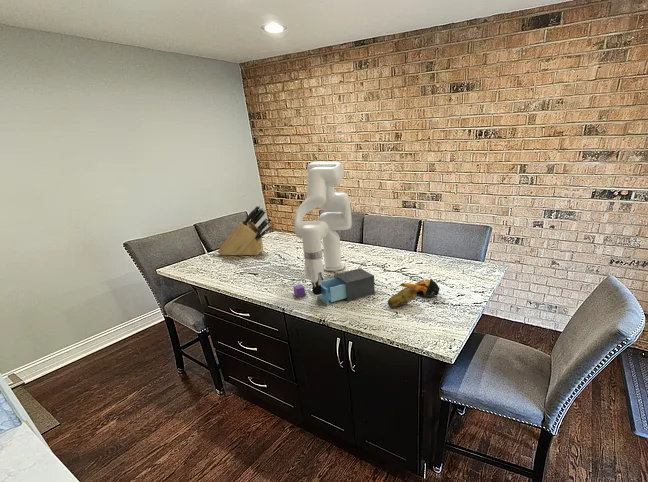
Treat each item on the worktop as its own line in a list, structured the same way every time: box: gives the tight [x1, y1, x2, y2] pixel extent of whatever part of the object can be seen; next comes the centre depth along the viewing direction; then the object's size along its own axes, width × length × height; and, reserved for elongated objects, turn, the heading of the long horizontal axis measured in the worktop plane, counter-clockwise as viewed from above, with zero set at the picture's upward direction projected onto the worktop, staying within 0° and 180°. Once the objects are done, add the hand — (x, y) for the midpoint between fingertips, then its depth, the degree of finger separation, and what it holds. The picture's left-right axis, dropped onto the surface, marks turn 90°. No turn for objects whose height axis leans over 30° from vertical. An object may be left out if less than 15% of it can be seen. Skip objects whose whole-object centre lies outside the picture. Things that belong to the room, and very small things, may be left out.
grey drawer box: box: [333, 267, 376, 302], centre depth 159 cm, size 15×13×9 cm
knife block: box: [217, 204, 273, 256], centre depth 216 cm, size 11×35×31 cm, turn 89°
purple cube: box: [292, 284, 306, 298], centre depth 159 cm, size 4×4×4 cm
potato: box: [387, 287, 417, 308], centre depth 146 cm, size 8×13×8 cm, turn 93°
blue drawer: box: [307, 277, 347, 306], centre depth 152 cm, size 18×11×7 cm, turn 125°
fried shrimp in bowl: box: [399, 278, 441, 298], centre depth 156 cm, size 9×11×18 cm
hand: (317, 293), depth 149 cm, fingers closed
